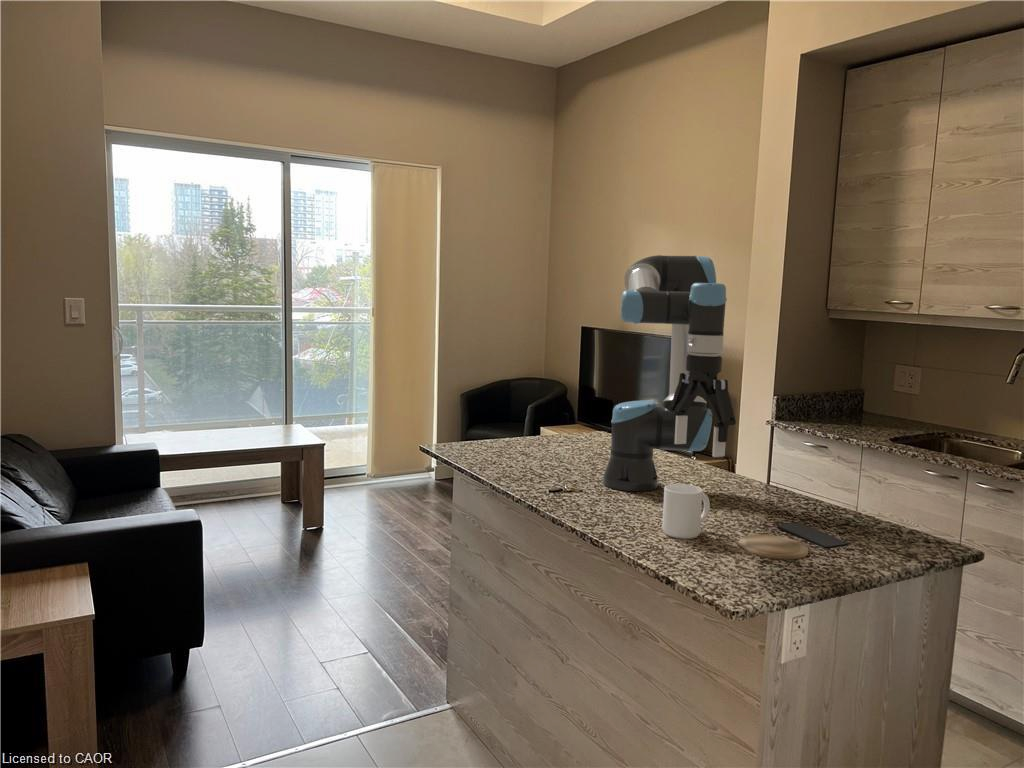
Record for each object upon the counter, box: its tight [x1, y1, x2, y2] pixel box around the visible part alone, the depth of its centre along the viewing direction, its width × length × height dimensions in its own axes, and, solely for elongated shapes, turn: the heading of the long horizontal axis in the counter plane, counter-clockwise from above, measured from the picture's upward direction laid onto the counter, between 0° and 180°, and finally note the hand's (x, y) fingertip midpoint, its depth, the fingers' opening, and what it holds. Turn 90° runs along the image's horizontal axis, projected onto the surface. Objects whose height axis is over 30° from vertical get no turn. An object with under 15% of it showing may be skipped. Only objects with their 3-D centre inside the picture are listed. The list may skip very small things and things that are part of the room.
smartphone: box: [776, 522, 849, 549], centre depth 166 cm, size 7×1×15 cm
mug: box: [661, 483, 711, 540], centre depth 165 cm, size 12×8×10 cm
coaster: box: [738, 533, 809, 561], centre depth 157 cm, size 14×14×1 cm
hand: (698, 449), depth 164 cm, fingers open, 13 cm apart
